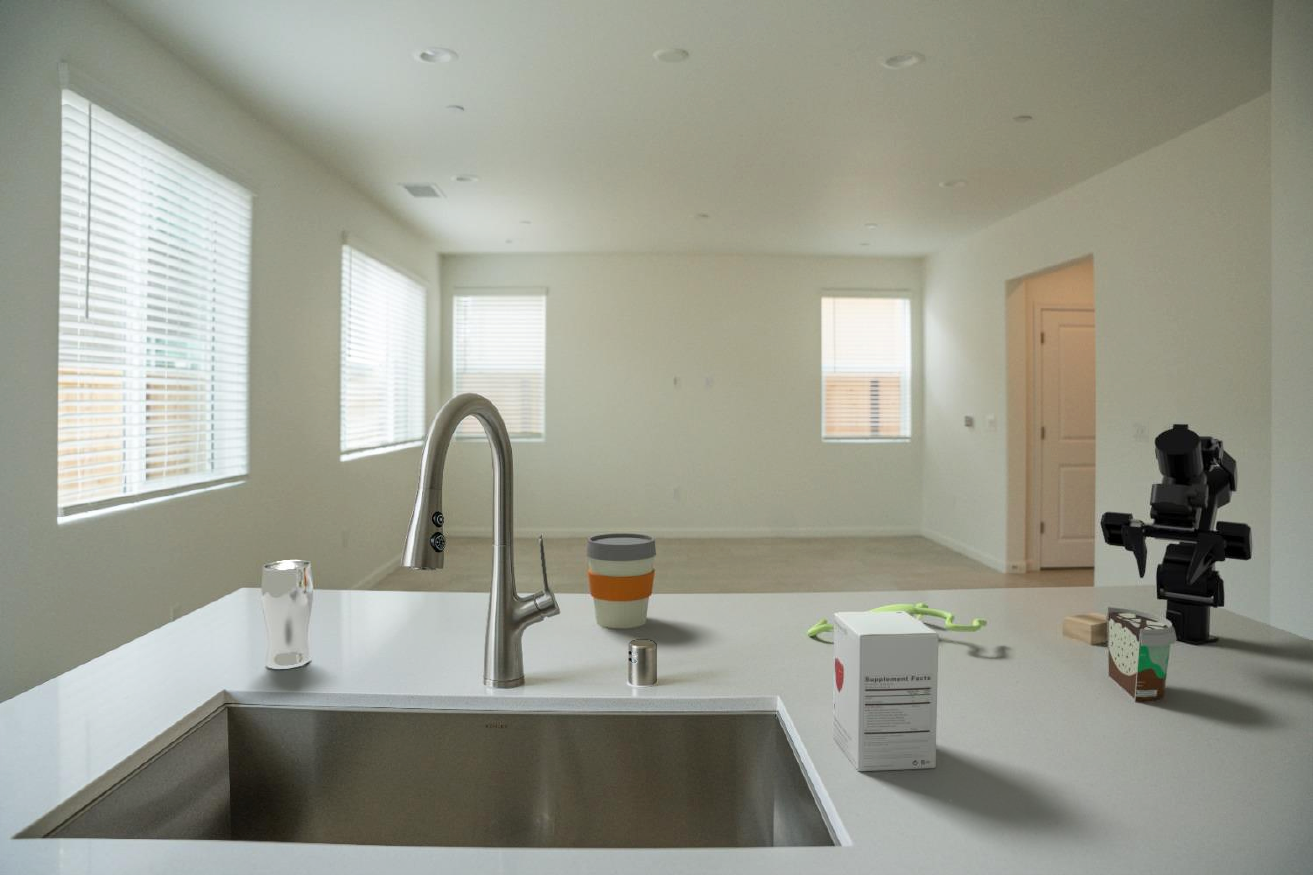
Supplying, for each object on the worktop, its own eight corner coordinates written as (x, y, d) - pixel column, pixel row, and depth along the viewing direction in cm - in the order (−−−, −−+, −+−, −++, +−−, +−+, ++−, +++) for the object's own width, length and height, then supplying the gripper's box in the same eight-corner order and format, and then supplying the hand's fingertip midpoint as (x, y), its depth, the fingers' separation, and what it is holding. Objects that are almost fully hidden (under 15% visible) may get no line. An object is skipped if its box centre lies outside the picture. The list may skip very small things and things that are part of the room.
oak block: (1093, 632, 133) (1093, 612, 132) (1121, 640, 128) (1121, 619, 128) (1062, 638, 129) (1063, 617, 129) (1090, 646, 125) (1091, 625, 124)
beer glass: (324, 659, 116) (322, 562, 115) (285, 673, 110) (283, 570, 109) (292, 653, 119) (290, 558, 118) (252, 666, 113) (250, 566, 112)
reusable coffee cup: (572, 620, 138) (572, 538, 137) (625, 608, 146) (625, 530, 146) (616, 636, 128) (616, 547, 128) (670, 622, 137) (670, 539, 136)
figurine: (1001, 653, 121) (1002, 618, 121) (852, 668, 114) (853, 631, 114) (930, 621, 139) (930, 591, 139) (797, 633, 132) (797, 601, 132)
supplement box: (830, 736, 90) (831, 610, 89) (903, 733, 90) (905, 609, 90) (856, 773, 81) (858, 633, 80) (938, 770, 81) (940, 631, 81)
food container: (1192, 710, 98) (1195, 633, 97) (1139, 706, 99) (1142, 630, 99) (1150, 676, 110) (1153, 608, 109) (1104, 673, 111) (1106, 606, 111)
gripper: (1105, 460, 121) (1084, 538, 114) (1253, 467, 108) (1240, 555, 101) (1115, 505, 127) (1096, 581, 120) (1257, 516, 115) (1245, 602, 107)
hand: (1164, 579), depth 112 cm, fingers open, 6 cm apart
